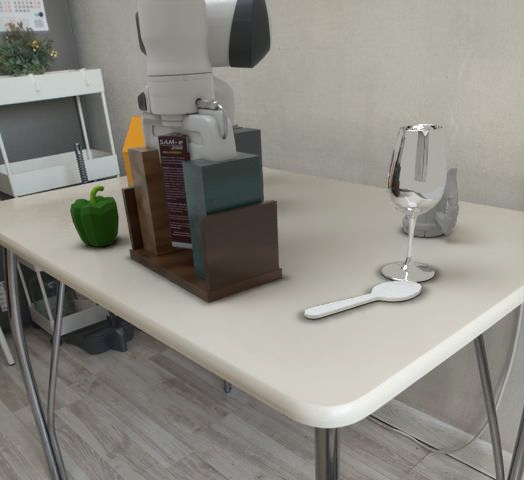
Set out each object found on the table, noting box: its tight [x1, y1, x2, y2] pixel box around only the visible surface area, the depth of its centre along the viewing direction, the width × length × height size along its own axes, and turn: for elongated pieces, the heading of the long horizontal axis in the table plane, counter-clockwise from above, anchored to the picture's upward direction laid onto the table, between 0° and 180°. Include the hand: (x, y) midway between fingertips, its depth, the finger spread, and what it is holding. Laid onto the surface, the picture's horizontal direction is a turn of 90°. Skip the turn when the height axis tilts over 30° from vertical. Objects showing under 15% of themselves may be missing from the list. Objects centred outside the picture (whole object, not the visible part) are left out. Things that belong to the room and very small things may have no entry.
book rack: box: [121, 146, 283, 303], centre depth 80 cm, size 25×13×18 cm, turn 37°
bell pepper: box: [69, 185, 120, 247], centre depth 96 cm, size 8×8×10 cm
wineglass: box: [381, 123, 448, 283], centre depth 73 cm, size 8×8×20 cm
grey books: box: [232, 125, 265, 202], centre depth 110 cm, size 11×9×16 cm
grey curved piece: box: [401, 166, 460, 238], centre depth 90 cm, size 8×12×12 cm, turn 20°
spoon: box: [303, 280, 422, 320], centre depth 70 cm, size 5×18×1 cm, turn 116°
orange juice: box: [122, 115, 145, 187], centre depth 102 cm, size 8×9×20 cm
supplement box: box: [158, 133, 192, 249], centre depth 79 cm, size 9×5×16 cm, turn 153°
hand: (193, 199), depth 80 cm, fingers closed on supplement box, 6 cm apart
